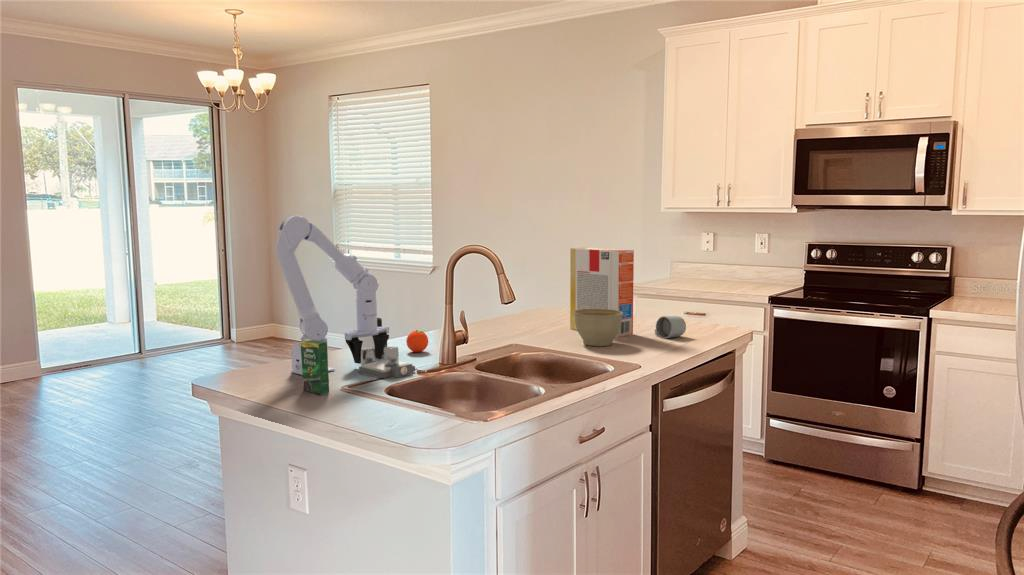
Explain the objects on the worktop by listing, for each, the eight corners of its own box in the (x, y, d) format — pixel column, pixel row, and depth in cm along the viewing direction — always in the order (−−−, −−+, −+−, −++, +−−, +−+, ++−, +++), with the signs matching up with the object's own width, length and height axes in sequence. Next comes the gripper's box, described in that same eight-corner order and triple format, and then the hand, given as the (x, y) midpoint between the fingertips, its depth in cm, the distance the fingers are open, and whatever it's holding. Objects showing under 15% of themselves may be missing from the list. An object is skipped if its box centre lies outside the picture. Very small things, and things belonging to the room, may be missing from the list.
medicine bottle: (379, 358, 227) (378, 319, 226) (357, 357, 229) (356, 318, 227) (387, 353, 234) (386, 315, 233) (366, 352, 236) (365, 315, 234)
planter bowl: (611, 350, 236) (611, 316, 235) (565, 346, 244) (565, 313, 243) (629, 342, 250) (630, 310, 249) (585, 338, 258) (586, 307, 257)
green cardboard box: (301, 390, 189) (299, 339, 188) (311, 388, 191) (309, 338, 190) (320, 395, 184) (318, 343, 182) (330, 393, 186) (328, 341, 185)
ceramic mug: (687, 337, 258) (687, 315, 257) (671, 339, 253) (671, 317, 253) (664, 333, 267) (664, 312, 266) (648, 336, 262) (648, 314, 261)
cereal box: (632, 334, 265) (633, 250, 261) (618, 337, 260) (618, 251, 256) (585, 326, 282) (585, 247, 278) (570, 329, 277) (570, 248, 273)
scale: (388, 379, 200) (388, 369, 199) (359, 372, 208) (358, 362, 208) (419, 372, 208) (419, 362, 208) (390, 365, 217) (389, 356, 216)
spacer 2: (388, 367, 204) (388, 349, 204) (381, 365, 207) (381, 347, 207) (401, 365, 207) (400, 347, 206) (394, 363, 210) (393, 345, 209)
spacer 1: (367, 368, 214) (366, 351, 214) (358, 366, 217) (358, 349, 216) (378, 365, 217) (377, 348, 216) (369, 363, 220) (369, 347, 219)
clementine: (429, 349, 241) (429, 327, 240) (433, 353, 234) (433, 330, 234) (404, 350, 239) (404, 328, 238) (408, 354, 232) (408, 332, 231)
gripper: (354, 319, 207) (356, 367, 209) (395, 313, 218) (396, 358, 219) (339, 316, 212) (341, 363, 213) (380, 310, 223) (381, 355, 224)
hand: (368, 360), depth 217 cm, fingers open, 7 cm apart
